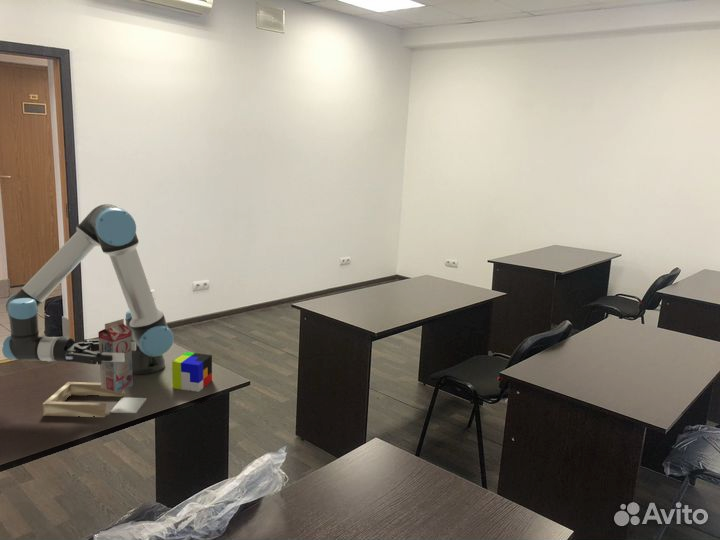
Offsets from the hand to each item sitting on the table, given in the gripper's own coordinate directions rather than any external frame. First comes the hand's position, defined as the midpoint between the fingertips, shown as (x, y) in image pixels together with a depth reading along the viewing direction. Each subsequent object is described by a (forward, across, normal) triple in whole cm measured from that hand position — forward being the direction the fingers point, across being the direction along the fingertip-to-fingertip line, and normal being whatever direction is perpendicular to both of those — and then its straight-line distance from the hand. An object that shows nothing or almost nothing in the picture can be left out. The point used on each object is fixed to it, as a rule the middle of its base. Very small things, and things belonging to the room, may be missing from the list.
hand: (130, 351), depth 172 cm
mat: (-1, -1, -19) cm, 19 cm away
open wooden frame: (-15, 0, -19) cm, 24 cm away
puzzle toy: (+15, -19, -19) cm, 31 cm away
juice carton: (-5, 0, -12) cm, 13 cm away
